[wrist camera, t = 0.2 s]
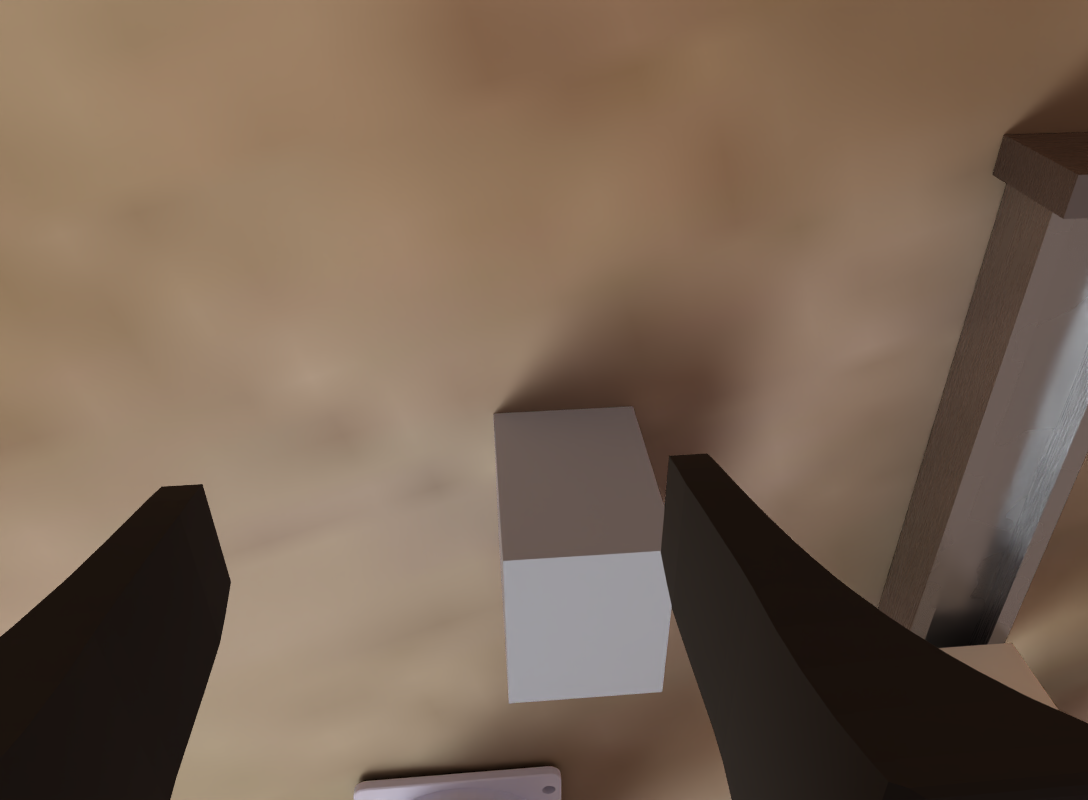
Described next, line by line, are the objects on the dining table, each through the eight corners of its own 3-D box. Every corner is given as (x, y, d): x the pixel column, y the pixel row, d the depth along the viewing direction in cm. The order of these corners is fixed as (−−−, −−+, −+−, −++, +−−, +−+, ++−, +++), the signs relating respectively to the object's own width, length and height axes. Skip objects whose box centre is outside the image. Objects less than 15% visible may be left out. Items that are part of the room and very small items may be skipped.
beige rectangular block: (986, 717, 31) (1089, 886, 26) (871, 726, 31) (952, 900, 26) (1020, 642, 29) (1139, 811, 24) (896, 651, 28) (991, 825, 23)
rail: (953, 680, 33) (994, 750, 30) (842, 689, 32) (874, 760, 30) (1173, 129, 21) (1269, 168, 19) (1004, 134, 21) (1078, 175, 18)
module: (632, 535, 27) (671, 691, 22) (499, 543, 27) (509, 703, 22) (641, 405, 24) (688, 549, 19) (493, 412, 24) (503, 561, 19)
